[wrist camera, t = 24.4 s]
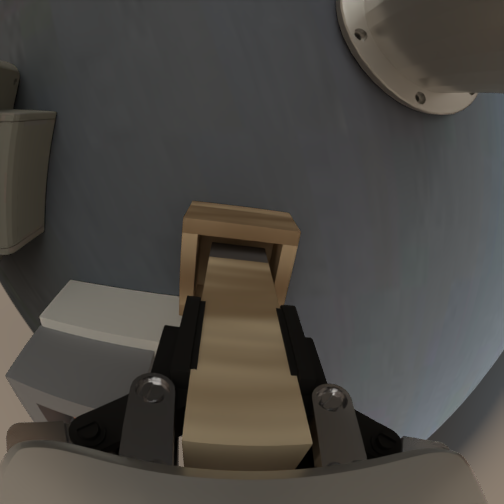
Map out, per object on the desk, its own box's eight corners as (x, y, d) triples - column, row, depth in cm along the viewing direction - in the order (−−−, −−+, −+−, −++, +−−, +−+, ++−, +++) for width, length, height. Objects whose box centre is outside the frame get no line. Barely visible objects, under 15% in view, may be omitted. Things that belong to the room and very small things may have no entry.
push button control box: (68, 279, 19) (0, 366, 10) (248, 304, 21) (259, 423, 11) (89, 367, 23) (55, 449, 14) (233, 390, 24) (236, 486, 15)
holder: (192, 200, 17) (183, 217, 14) (288, 212, 18) (300, 232, 15) (186, 285, 20) (178, 315, 16) (272, 294, 20) (278, 324, 17)
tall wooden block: (211, 242, 16) (181, 440, 5) (264, 248, 17) (312, 443, 6) (207, 287, 17) (185, 481, 6) (256, 292, 18) (283, 484, 7)
